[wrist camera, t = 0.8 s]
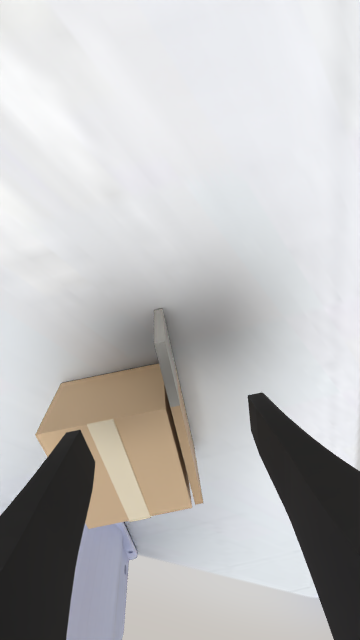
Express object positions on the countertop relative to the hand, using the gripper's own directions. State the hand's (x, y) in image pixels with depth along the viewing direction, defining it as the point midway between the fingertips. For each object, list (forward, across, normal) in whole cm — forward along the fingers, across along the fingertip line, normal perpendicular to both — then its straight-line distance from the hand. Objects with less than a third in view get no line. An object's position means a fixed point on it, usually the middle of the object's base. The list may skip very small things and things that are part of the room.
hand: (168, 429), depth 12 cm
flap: (+9, 0, +5) cm, 10 cm away
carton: (+9, +4, +8) cm, 13 cm away
